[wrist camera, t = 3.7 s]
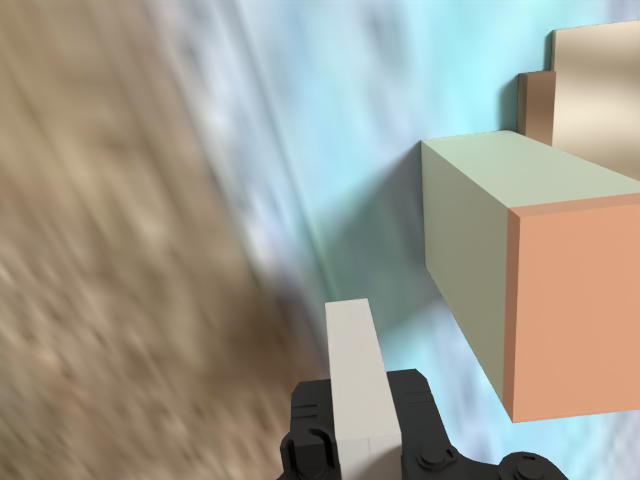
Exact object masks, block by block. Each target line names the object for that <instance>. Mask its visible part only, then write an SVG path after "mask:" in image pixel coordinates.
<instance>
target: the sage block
mask: <svg viewBox="0 0 640 480" xmlns="http://www.w3.org/2000/svg"><path fill="white" fill-rule="evenodd" d="M421 160H422V186H423V212H424V239H425V265H426V268H427V270H428V272H429V273H430V275H431V277H432V279H433V281H434V282H435V284H436V286H437V288H438V290H439V291H440V293H441V295H442V297H443V299H444V300H445V302H446V304H447V306H448V308H449V309H450V311H451V313H452V315H453V317H454V318H455V320H456V322H457V324H458V326H459V327H460V329H461V331H462V333H463V335H464V336H465V338H466V340H467V342H468V344H469V345H470V347H471V349H472V351H473V353H474V354H475V356H476V358H477V360H478V362H479V363H480V365H481V367H482V369H483V371H484V372H485V374H486V376H487V378H488V380H489V381H490V383H491V385H492V387H493V389H494V390H495V392H496V394H497V396H498V398H499V399H500V401H501V403H502V405H503V407H504V408H505V410H506V412H507V414H508V416H509V417H510V419H511V421H512V423H519V422H528V421H537V420H546V419H556V418H565V417H574V416H583V415H592V414H601V413H610V412H620V411H629V410H638V409H640V181H637V180H635V179H632V178H630V177H627V176H624V175H622V174H619V173H617V172H614V171H612V170H609V169H607V168H604V167H602V166H599V165H597V164H594V163H591V162H589V161H586V160H584V159H581V158H579V157H576V156H574V155H571V154H569V153H566V152H564V151H561V150H558V149H556V148H553V147H551V146H548V145H546V144H543V143H541V142H538V141H536V140H533V139H531V138H528V137H525V136H523V135H520V134H518V133H515V132H513V131H510V130H500V131H492V132H483V133H475V134H466V135H458V136H449V137H441V138H432V139H424V140H421Z"/></svg>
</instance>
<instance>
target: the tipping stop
mask: <svg viewBox="0 0 640 480" xmlns="http://www.w3.org/2000/svg"><path fill="white" fill-rule="evenodd" d="M517 133H518V134H520V135H523V136H525V137H528V138H531V139H533V140H536V141H538V142H541V143H543V144H546V145H548V146H551V147H553V148H556V149H558V150H561V151H564V152H566V153H569V154H571V155H574V156H576V157H579V158H581V159H584V160H586V161H589V162H591V163H594V164H597V165H599V166H602V167H604V168H607V169H609V170H612V171H614V172H617V173H619V174H622V175H624V176H627V177H630V178H632V179H635V180H637V181H640V20H634V21H626V22H618V23H610V24H601V25H593V26H585V27H576V28H568V29H560V30H553V36H552V54H551V71H548V70H544V71H536V72H528V73H519V81H518V111H517Z"/></svg>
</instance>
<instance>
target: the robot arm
mask: <svg viewBox="0 0 640 480" xmlns="http://www.w3.org/2000/svg"><path fill="white" fill-rule="evenodd" d="M325 309H326V321H327V334H328V347H329V360H330V373H331V379H325V380H316V381H306V382H299V383H298V385H297V386H296V388H295V390H294V391H293V393H292V398H291V423H290V432H289V433H288V434H287V435H286V436H285V437H284V438H283V439H282V442H281V446H280V452H281V458H282V464H283V469H284V472H283V474H282V475H281V476H280V477H279V478H278V479H277V480H569V479H568V478H567V477H566V476H565V475H564V474H563V473H562V472H561V471H560V470H559V469H558V468H557V467H556V466H555V465H554V464H553V463H551V462H550V461H549V460H548V459H546V458H544V457H542V456H540V455H537V454H535V453H529V452H515V453H511V454H509V455H507V456H505V457H504V458H503V459H502V461H501V462H500V464H499V465H493V464H487V463H481V462H477V461H473V460H471V459H469V458H467V457H464V456H463V455H462V454H460V453H459V452H458V451H457V449H456V448H455V447H453V446H452V445H451V443H450V441H449V439H448V436H447V433H446V431H445V428H444V425H443V422H442V420H441V417H440V414H439V411H438V409H437V406H436V404H435V401H434V398H433V395H432V393H431V390H430V387H429V384H428V382H427V379H426V378H425V377H424V376H423V375H422V374H421V373H420V372H419V371H418V370H416V369H408V370H399V371H389V372H386V371H385V367H384V363H383V359H382V355H381V351H380V347H379V343H378V339H377V335H376V331H375V327H374V323H373V319H372V315H371V311H370V307H369V303H368V299H367V298H364V299H355V300H346V301H337V302H327V303H325Z"/></svg>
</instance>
